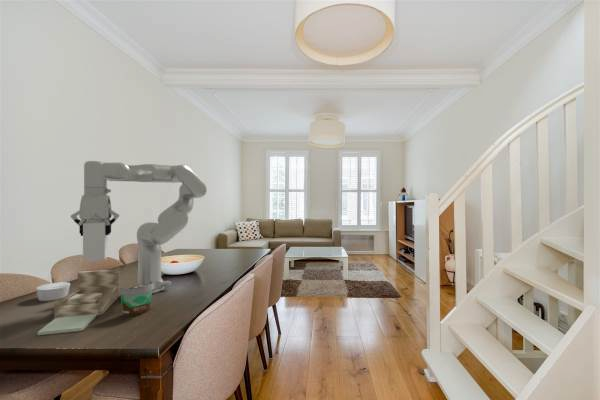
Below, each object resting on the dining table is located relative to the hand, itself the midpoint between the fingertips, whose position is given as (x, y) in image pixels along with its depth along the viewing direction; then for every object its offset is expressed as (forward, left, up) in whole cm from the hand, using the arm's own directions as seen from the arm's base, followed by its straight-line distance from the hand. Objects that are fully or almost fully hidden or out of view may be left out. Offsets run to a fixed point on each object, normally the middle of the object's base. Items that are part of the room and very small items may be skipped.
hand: (95, 234), depth 116 cm
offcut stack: (0, +9, -28) cm, 29 cm away
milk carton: (0, 0, -10) cm, 10 cm away
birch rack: (0, +4, -28) cm, 28 cm away
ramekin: (+19, -13, -28) cm, 36 cm away
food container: (-20, +15, -28) cm, 37 cm away
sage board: (0, +21, -28) cm, 35 cm away
